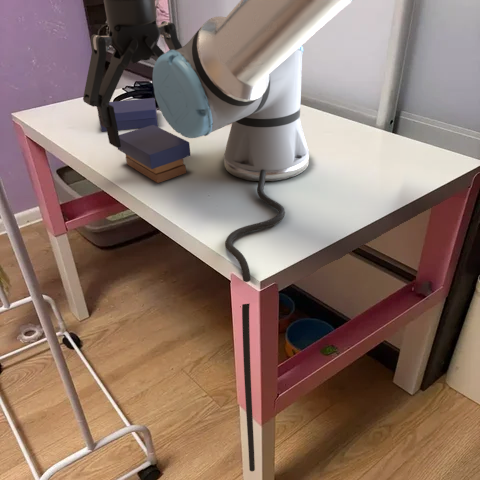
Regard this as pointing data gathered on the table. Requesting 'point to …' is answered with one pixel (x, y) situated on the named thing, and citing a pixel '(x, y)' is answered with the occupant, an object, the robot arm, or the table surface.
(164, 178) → the brown pile
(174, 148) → the navy book
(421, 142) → the table surface
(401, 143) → the table surface
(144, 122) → the navy pile
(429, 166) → the table surface
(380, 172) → the table surface
